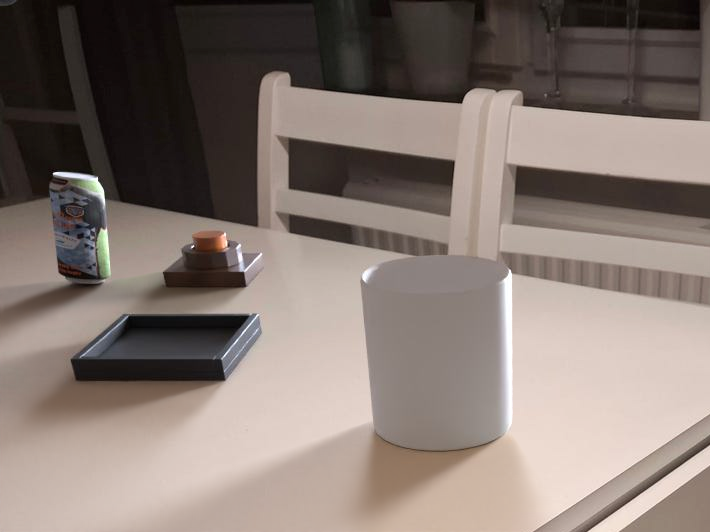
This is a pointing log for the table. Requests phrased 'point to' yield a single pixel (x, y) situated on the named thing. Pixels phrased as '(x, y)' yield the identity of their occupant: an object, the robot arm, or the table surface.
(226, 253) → the block
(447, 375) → the white cylinder
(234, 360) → the tray
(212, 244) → the button
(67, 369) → the table surface
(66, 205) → the beverage can
